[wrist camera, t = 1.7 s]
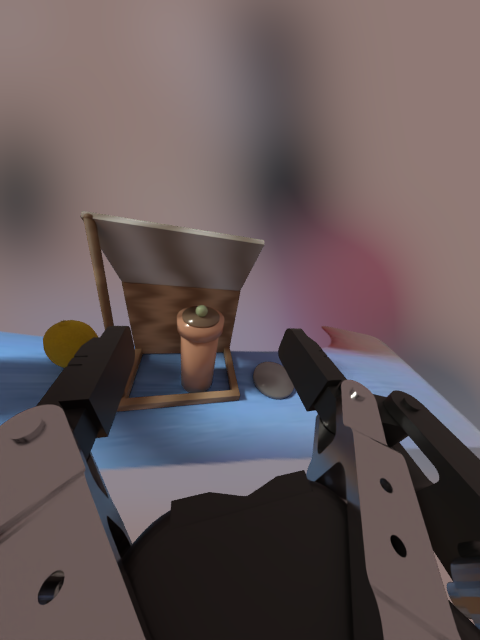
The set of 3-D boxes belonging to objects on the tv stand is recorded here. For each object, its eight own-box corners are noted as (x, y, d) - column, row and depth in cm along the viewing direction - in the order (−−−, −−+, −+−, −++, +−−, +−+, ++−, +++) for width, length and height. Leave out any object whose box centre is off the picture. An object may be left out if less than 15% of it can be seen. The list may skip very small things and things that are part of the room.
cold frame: (114, 411, 22) (39, 217, 10) (137, 349, 31) (110, 206, 19) (238, 400, 26) (282, 253, 15) (227, 348, 35) (249, 230, 23)
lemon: (46, 377, 24) (16, 331, 20) (77, 349, 29) (58, 307, 24) (89, 382, 25) (69, 338, 20) (113, 353, 29) (100, 313, 25)
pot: (189, 403, 25) (192, 325, 17) (172, 376, 28) (167, 299, 20) (221, 384, 28) (235, 311, 21) (202, 361, 31) (208, 291, 24)
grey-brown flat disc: (276, 408, 26) (277, 405, 26) (244, 375, 30) (245, 372, 30) (300, 385, 31) (302, 382, 30) (270, 359, 35) (271, 356, 34)
